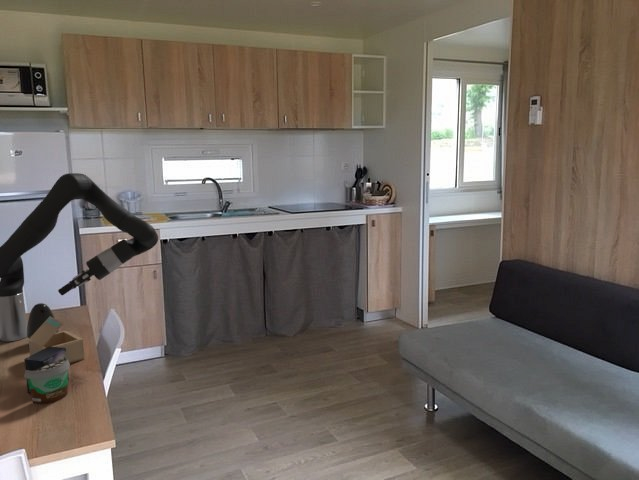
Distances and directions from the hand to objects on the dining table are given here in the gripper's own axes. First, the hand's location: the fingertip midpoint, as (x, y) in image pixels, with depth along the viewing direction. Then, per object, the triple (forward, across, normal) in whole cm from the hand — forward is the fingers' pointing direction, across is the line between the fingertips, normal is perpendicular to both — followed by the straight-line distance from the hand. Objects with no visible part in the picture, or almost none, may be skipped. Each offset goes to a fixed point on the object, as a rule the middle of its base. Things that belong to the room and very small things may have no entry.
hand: (61, 291), depth 175 cm
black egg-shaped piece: (+18, -23, +13) cm, 32 cm away
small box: (+16, +19, +21) cm, 32 cm away
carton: (+14, -4, +18) cm, 23 cm away
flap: (+16, 0, +9) cm, 19 cm away
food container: (+15, +28, +24) cm, 40 cm away
